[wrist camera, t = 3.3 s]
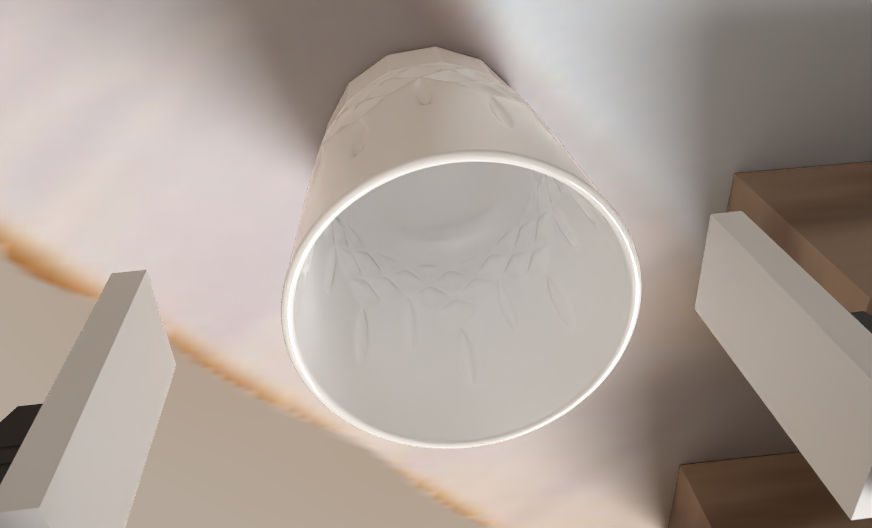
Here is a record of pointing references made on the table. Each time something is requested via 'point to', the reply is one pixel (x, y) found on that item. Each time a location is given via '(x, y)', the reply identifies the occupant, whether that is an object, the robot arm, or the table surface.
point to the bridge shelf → (846, 282)
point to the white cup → (453, 261)
